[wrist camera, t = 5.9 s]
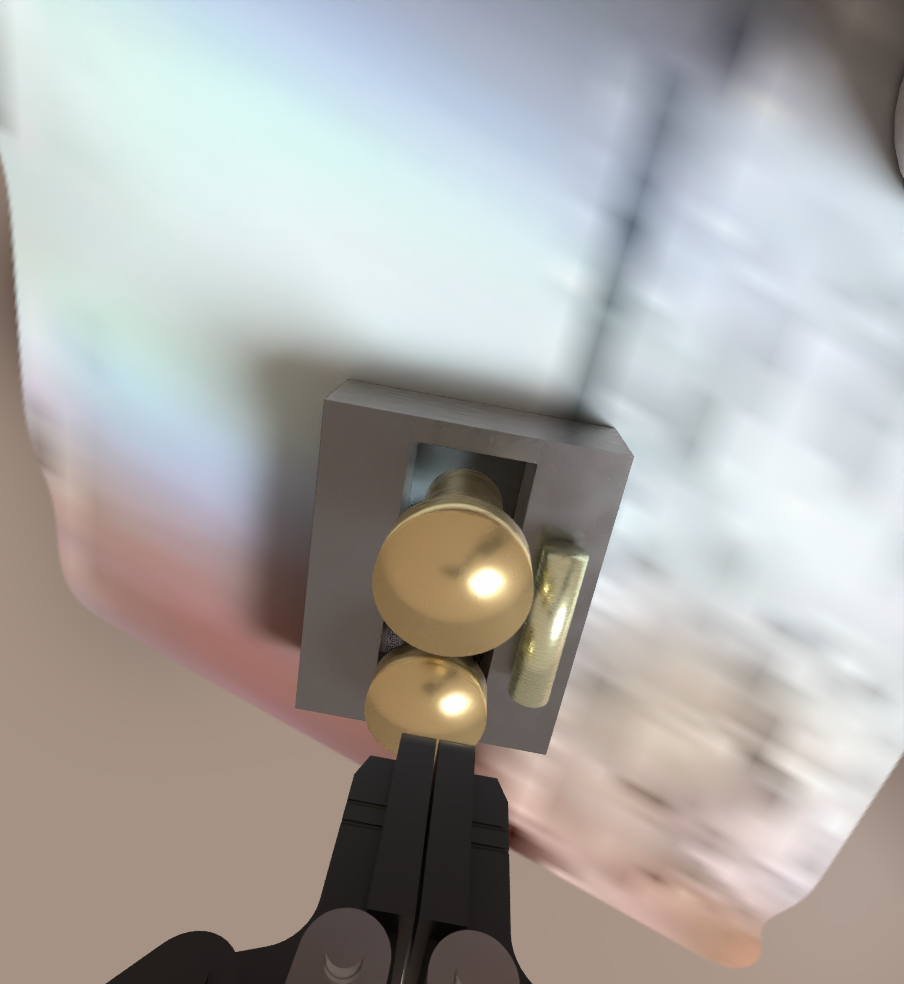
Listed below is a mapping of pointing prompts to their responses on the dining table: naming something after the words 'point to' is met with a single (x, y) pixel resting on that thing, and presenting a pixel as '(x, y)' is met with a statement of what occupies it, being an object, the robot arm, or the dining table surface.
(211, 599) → the dining table surface
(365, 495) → the level base plate
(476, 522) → the brass knob
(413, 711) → the brass knob
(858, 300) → the dining table surface
